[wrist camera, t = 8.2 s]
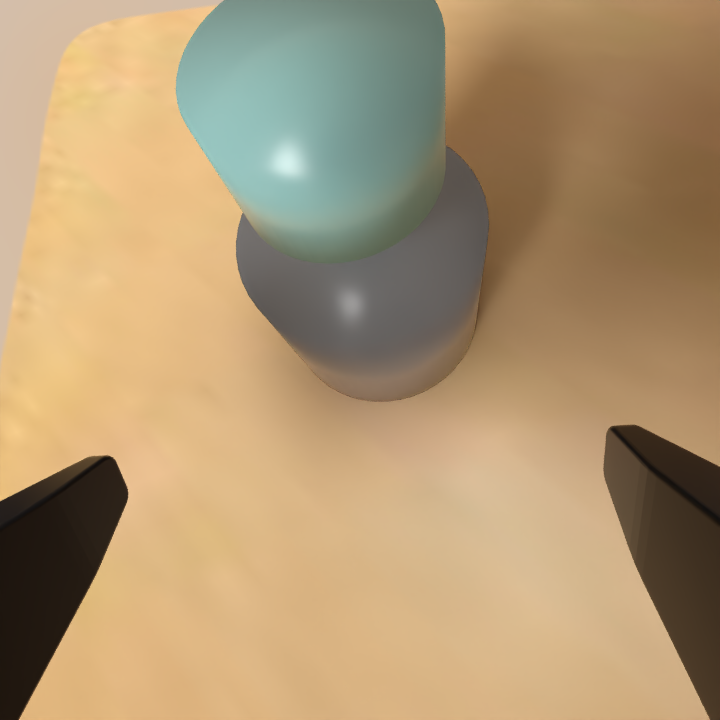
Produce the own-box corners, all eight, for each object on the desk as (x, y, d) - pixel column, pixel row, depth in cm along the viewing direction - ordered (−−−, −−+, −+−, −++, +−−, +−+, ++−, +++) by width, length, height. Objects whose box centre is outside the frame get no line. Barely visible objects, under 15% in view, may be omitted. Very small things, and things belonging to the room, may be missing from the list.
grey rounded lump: (486, 394, 17) (504, 334, 12) (293, 407, 18) (228, 358, 13) (466, 223, 19) (473, 108, 14) (296, 244, 20) (242, 144, 15)
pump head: (454, 293, 12) (458, 143, 7) (267, 312, 13) (162, 186, 8) (431, 71, 14) (423, -148, 10) (275, 98, 15) (198, -95, 10)
